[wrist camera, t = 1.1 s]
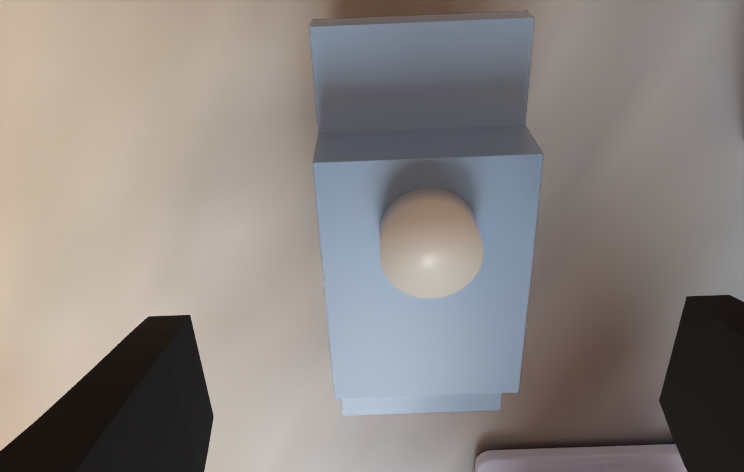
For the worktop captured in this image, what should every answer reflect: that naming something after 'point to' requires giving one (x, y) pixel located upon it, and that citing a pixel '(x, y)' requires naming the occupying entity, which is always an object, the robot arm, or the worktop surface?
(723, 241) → the worktop surface
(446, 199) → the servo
